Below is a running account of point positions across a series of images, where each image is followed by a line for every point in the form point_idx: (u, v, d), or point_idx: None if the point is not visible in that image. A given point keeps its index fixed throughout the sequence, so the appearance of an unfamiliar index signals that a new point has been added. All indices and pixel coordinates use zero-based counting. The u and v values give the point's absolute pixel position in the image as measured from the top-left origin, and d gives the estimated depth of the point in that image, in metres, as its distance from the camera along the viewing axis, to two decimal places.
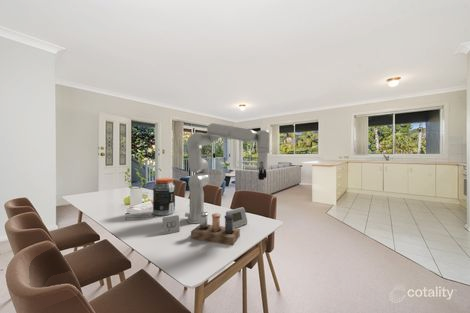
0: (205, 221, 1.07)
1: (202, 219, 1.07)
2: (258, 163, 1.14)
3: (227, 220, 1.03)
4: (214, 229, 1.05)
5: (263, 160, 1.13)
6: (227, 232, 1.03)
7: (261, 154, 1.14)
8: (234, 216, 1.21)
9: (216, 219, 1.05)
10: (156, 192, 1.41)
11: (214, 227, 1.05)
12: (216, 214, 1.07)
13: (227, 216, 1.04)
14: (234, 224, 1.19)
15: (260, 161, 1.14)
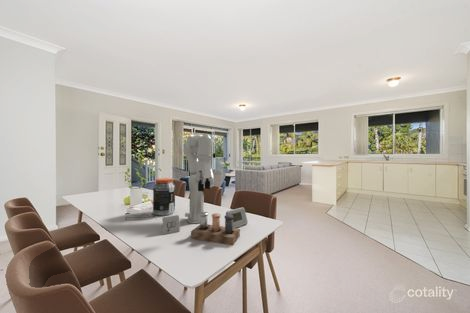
0: (205, 221, 1.07)
1: (202, 219, 1.07)
2: (197, 172, 1.04)
3: (227, 220, 1.03)
4: (214, 229, 1.05)
5: (202, 169, 1.03)
6: (227, 232, 1.03)
7: (200, 162, 1.04)
8: (234, 216, 1.21)
9: (216, 219, 1.05)
10: (156, 192, 1.41)
11: (214, 227, 1.05)
12: (216, 214, 1.07)
13: (227, 216, 1.04)
14: (234, 224, 1.19)
15: (199, 170, 1.04)
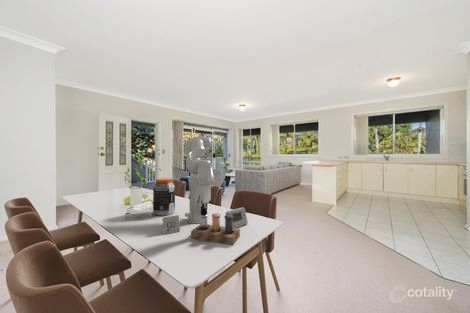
0: (205, 223, 1.07)
1: (202, 221, 1.07)
2: (197, 197, 1.04)
3: (227, 220, 1.03)
4: (214, 229, 1.05)
5: (202, 194, 1.04)
6: (227, 232, 1.03)
7: (200, 187, 1.04)
8: (234, 216, 1.21)
9: (216, 219, 1.05)
10: (156, 192, 1.41)
11: (214, 227, 1.05)
12: (216, 214, 1.07)
13: (227, 216, 1.04)
14: (234, 224, 1.19)
15: (199, 195, 1.04)
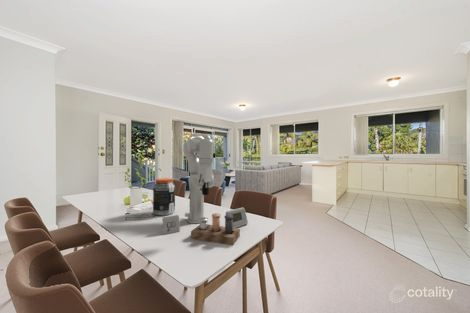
0: (205, 227, 1.08)
1: (202, 225, 1.07)
2: (198, 176, 1.04)
3: (227, 220, 1.03)
4: (214, 229, 1.05)
5: (203, 172, 1.03)
6: (227, 232, 1.03)
7: (201, 166, 1.04)
8: (234, 216, 1.21)
9: (216, 219, 1.05)
10: (156, 192, 1.41)
11: (214, 227, 1.05)
12: (216, 214, 1.07)
13: (227, 216, 1.04)
14: (234, 224, 1.19)
15: (200, 173, 1.04)
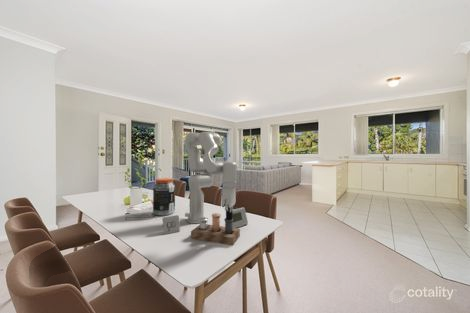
0: (205, 227, 1.08)
1: (202, 225, 1.07)
2: (223, 201, 1.00)
3: (227, 223, 1.03)
4: (214, 229, 1.05)
5: (228, 197, 0.99)
6: None
7: (226, 190, 1.00)
8: (234, 216, 1.21)
9: (216, 219, 1.05)
10: (156, 192, 1.41)
11: (214, 227, 1.05)
12: (216, 214, 1.07)
13: None
14: (234, 224, 1.19)
15: (225, 198, 0.99)
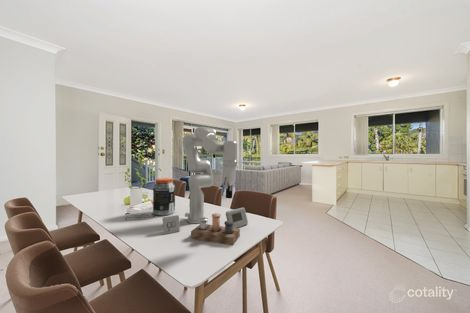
0: (205, 227, 1.08)
1: (202, 225, 1.07)
2: (223, 179, 1.00)
3: (227, 226, 1.03)
4: (214, 229, 1.05)
5: (228, 175, 0.99)
6: None
7: (226, 168, 1.00)
8: (234, 216, 1.21)
9: (216, 219, 1.05)
10: (156, 192, 1.41)
11: (214, 227, 1.05)
12: (216, 214, 1.07)
13: (227, 222, 1.04)
14: (234, 224, 1.19)
15: (225, 176, 0.99)
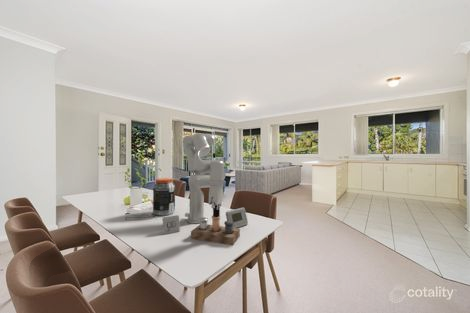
0: (205, 227, 1.08)
1: (202, 225, 1.07)
2: (209, 198, 1.02)
3: (227, 226, 1.03)
4: (214, 231, 1.05)
5: (215, 195, 1.01)
6: None
7: (213, 188, 1.02)
8: (234, 216, 1.21)
9: (216, 221, 1.05)
10: (156, 192, 1.41)
11: (214, 229, 1.05)
12: None
13: (227, 222, 1.04)
14: (234, 224, 1.18)
15: (211, 196, 1.02)
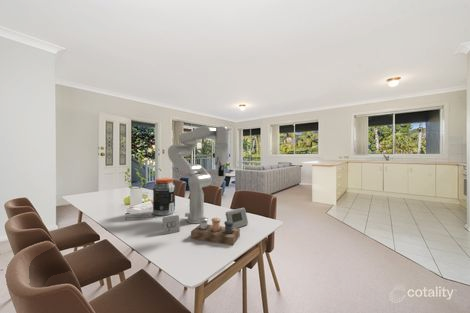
0: (205, 227, 1.08)
1: (202, 225, 1.07)
2: (215, 159, 1.16)
3: (227, 226, 1.03)
4: None
5: (220, 156, 1.15)
6: None
7: (218, 150, 1.16)
8: (234, 217, 1.20)
9: (216, 224, 1.05)
10: (156, 192, 1.41)
11: None
12: (216, 219, 1.07)
13: (227, 222, 1.04)
14: (234, 225, 1.18)
15: (217, 157, 1.16)
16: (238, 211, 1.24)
